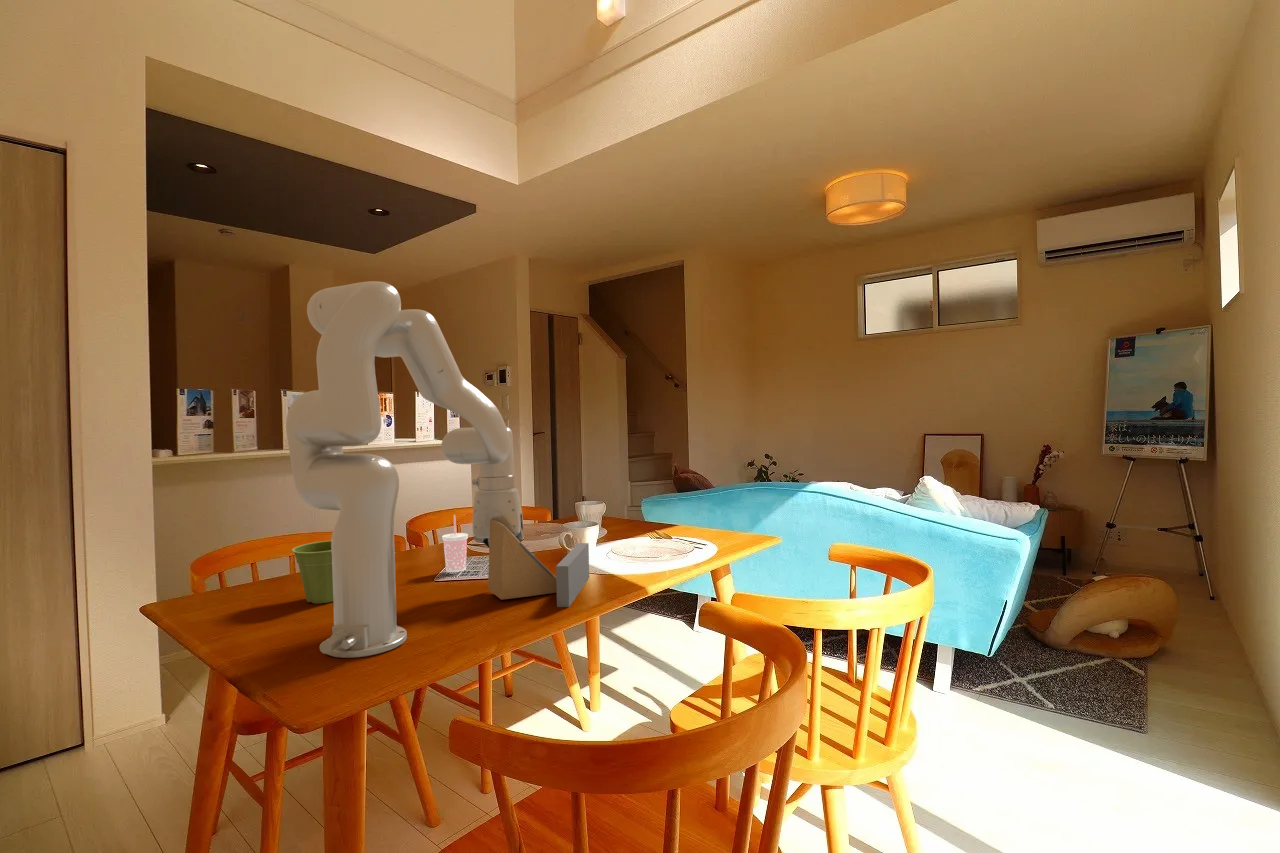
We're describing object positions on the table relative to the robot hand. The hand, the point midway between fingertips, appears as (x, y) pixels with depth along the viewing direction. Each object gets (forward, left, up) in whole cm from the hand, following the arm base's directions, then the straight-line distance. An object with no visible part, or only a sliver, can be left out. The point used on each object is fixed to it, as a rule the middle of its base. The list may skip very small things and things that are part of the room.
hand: (500, 567), depth 135 cm
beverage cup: (+15, +16, -5) cm, 22 cm away
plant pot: (-8, +35, -5) cm, 36 cm away
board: (-1, -16, -5) cm, 17 cm away
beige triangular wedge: (-2, -7, -4) cm, 8 cm away
